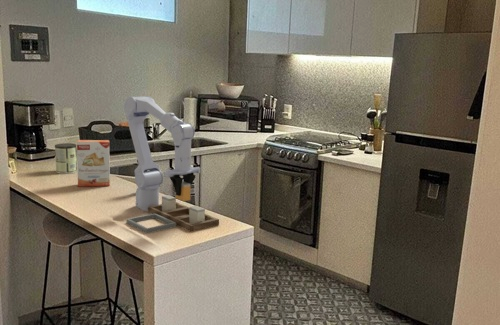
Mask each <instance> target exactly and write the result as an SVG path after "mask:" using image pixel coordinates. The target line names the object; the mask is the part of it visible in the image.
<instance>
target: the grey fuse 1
mask: <svg viewBox="0 0 500 325" xmlns="http://www.w3.org/2000/svg"><path fill="white" fill-rule="evenodd" d="M176 202H177V199H176V196H175V197H174V196H172V195H170V194H167V195H162V196H161V204H162V212H163V211H168V210H173V209H176Z"/></svg>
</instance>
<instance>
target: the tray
mask: <svg viewBox="0 0 500 325" xmlns="http://www.w3.org/2000/svg"><path fill="white" fill-rule="evenodd" d="M151 219H155V220H158V221H160V222H162V223H164V224H160V225H156V226H151V227H146V226H145V225H142V224H140V223H138V222H142V221H147V220H151ZM125 220H126V224H128V225H130V226H132V227H133V228H135V229H138V230H139V231H141V232H143V233H145V234H151V233H154V232H159V231H163V230H169V229H171V228H176V227H177V225H176V222H173V221H171V220H169V219H167V218H164V217H162V216H160V215H158V214H156V213H155V214H151V213H149V214H144V215H140V216H139V215H138V216H135V217H129V218H126V219H125Z"/></svg>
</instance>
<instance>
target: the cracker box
mask: <svg viewBox="0 0 500 325" xmlns="http://www.w3.org/2000/svg"><path fill="white" fill-rule="evenodd" d="M110 155H111V154H110V140H109V139H103V140H102V139H101V140H99V139H98V140H97V139H96V140H94V139H78V140H77V141H76V158H77V187H78V188H79V187H110V186H111V185H110V184H111V175H110V174H111V173H110V172H111V170H110V168H111V167H110V166H111V163H110V160H111V158H110V157H111V156H110Z"/></svg>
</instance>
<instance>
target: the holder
mask: <svg viewBox="0 0 500 325" xmlns="http://www.w3.org/2000/svg"><path fill="white" fill-rule="evenodd" d="M189 207H190V206H186V205H184V204H181V203H179V202H177V201H176V209H173V210H168V211H163V212H162V203H161V204H160V203H159V205H155V206H149V207H148V211H147V213H149V214H155V213H156V214H158V215H160V216H162V217H164V218H167V219H169V220H171V221H173V222H176V226H177V227H180V228H182V229H184V230H187V231H189V232H195V231H199V230H204V229H208V228H213V227H216V226H219V225H220V218H216V217H215V216H211V215H209V214H207V213H205V221H203V222H198V223H194V224H190V223H189Z"/></svg>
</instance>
